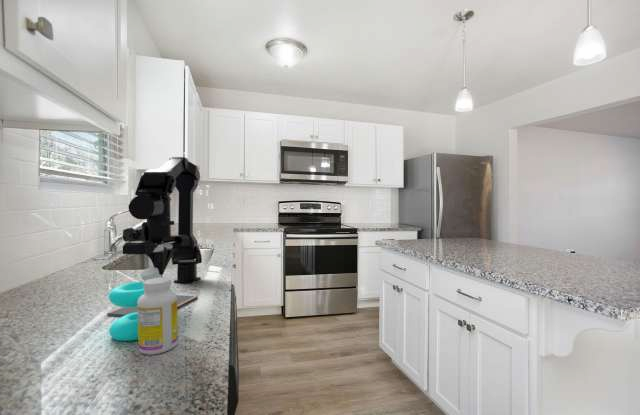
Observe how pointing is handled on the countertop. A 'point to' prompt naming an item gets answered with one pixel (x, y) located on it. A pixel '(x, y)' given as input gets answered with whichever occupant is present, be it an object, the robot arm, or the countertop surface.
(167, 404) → the countertop surface
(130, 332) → the donuts
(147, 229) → the robot arm
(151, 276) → the pill bottle
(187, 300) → the mat
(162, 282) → the supplement bottle
